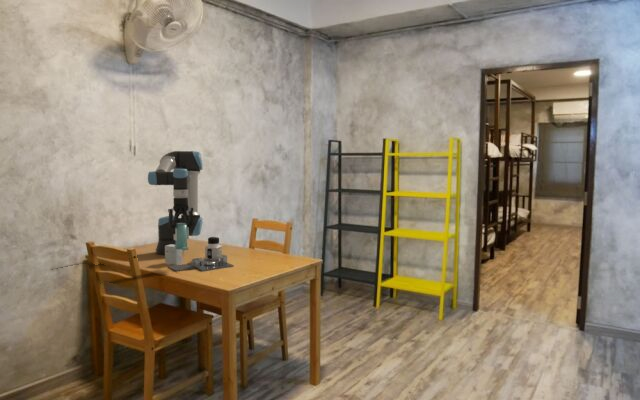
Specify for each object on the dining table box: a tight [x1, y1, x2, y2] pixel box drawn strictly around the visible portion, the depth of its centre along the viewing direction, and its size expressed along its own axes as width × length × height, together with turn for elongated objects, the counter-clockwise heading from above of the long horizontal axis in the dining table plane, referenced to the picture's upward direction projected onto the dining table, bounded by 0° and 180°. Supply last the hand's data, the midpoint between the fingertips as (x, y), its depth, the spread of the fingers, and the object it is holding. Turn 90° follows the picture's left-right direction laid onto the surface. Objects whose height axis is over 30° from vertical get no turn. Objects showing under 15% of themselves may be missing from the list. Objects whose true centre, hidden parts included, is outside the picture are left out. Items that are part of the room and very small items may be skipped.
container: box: [204, 236, 223, 261], centre depth 274 cm, size 8×8×13 cm
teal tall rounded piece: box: [175, 223, 189, 251], centre depth 248 cm, size 6×12×14 cm, turn 40°
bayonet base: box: [186, 253, 234, 272], centre depth 256 cm, size 19×19×5 cm
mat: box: [167, 263, 197, 273], centre depth 250 cm, size 11×11×1 cm
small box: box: [164, 244, 184, 266], centre depth 260 cm, size 8×6×10 cm
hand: (181, 239), depth 248 cm, fingers closed on teal tall rounded piece, 6 cm apart
